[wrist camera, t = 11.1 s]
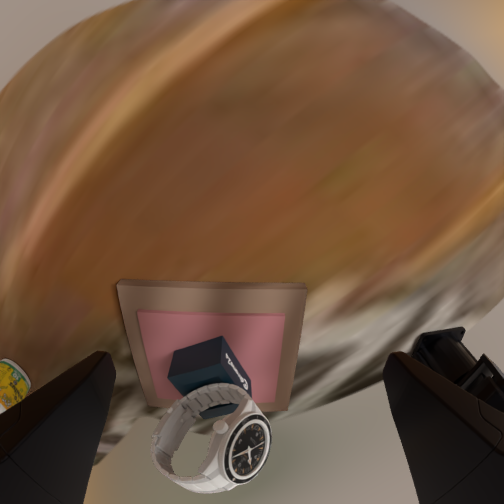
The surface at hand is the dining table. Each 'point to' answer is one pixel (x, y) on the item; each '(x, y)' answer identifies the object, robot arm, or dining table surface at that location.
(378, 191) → the dining table surface
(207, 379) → the watch
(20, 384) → the supplement bottle
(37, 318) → the dining table surface
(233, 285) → the pink square tray
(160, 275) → the dining table surface
